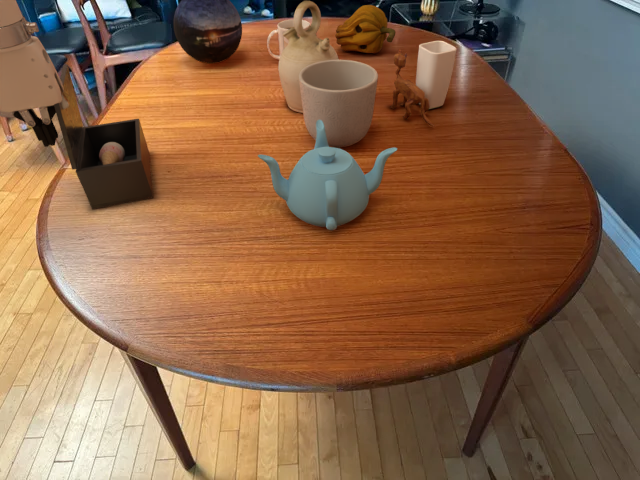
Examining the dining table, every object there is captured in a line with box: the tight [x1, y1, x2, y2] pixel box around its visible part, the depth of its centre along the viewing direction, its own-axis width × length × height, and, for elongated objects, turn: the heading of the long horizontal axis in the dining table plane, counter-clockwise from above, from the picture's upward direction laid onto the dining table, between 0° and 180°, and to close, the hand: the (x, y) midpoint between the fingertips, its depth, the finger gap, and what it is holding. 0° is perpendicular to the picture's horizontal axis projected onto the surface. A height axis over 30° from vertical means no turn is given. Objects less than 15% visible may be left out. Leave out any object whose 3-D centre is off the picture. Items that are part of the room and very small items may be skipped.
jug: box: [277, 0, 340, 114], centre depth 115 cm, size 15×16×25 cm
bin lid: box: [54, 64, 84, 171], centre depth 86 cm, size 13×18×5 cm
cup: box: [415, 40, 457, 110], centre depth 116 cm, size 7×7×15 cm
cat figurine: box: [389, 48, 436, 128], centre depth 112 cm, size 18×7×14 cm, turn 27°
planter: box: [299, 59, 379, 148], centre depth 105 cm, size 17×17×15 cm
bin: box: [75, 118, 154, 210], centre depth 95 cm, size 12×18×9 cm, turn 18°
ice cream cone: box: [99, 142, 125, 165], centre depth 94 cm, size 5×5×15 cm
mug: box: [266, 18, 311, 60], centre depth 141 cm, size 10×12×11 cm
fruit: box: [334, 4, 396, 54], centre depth 146 cm, size 14×16×20 cm
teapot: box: [257, 120, 398, 231], centre depth 86 cm, size 17×19×12 cm
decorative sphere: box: [173, 0, 243, 64], centre depth 140 cm, size 20×20×20 cm
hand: (50, 142), depth 82 cm, fingers closed
